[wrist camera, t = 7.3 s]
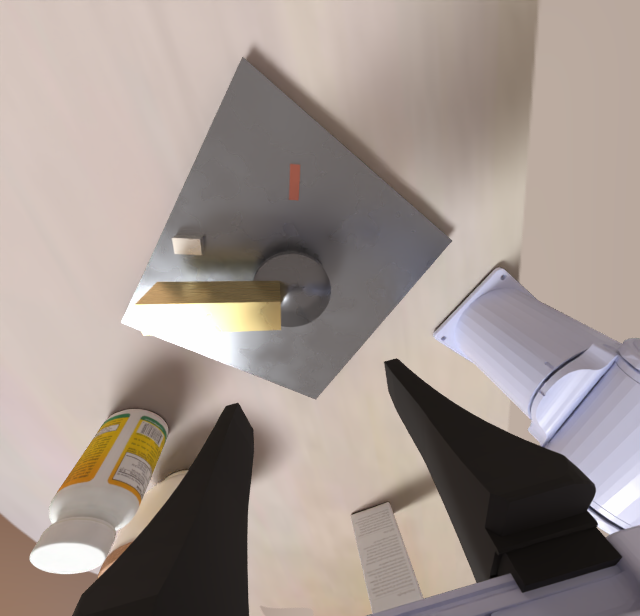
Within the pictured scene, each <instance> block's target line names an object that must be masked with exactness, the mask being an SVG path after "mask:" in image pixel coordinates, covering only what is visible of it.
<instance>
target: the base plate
mask: <svg viewBox="0 0 640 616" xmlns="http://www.w3.org/2000/svg"><path fill="white" fill-rule="evenodd" d="M451 242H452V240H451V239H450V238H449V237H448V236H446V235H445V234H444V233H443V232H442V231H441V230H440V229H438V228H437V227H436V226H435V225H434V224H433V223H432V222H430V221H429V220H428V219H427V218H426V217H425V216H424V215H422V214H421V213H420V212H419V211H418V210H417V209H416V208H414V207H413V206H412V205H411V204H410V203H409V202H408V201H406V200H405V199H404V198H403V197H402V196H401V195H400V194H398V193H397V192H396V191H395V190H394V189H393V188H392V187H390V186H389V185H388V184H387V183H386V182H385V181H384V180H382V179H381V178H380V177H379V176H378V175H377V174H376V173H375V172H373V171H372V170H371V169H370V168H369V167H368V166H367V165H365V164H364V163H363V162H362V161H361V160H360V159H359V158H357V157H356V156H355V155H354V154H353V153H352V152H351V151H349V150H348V149H347V148H346V147H345V146H344V145H343V144H341V143H340V142H339V141H338V140H337V139H336V138H335V137H333V136H332V135H331V134H330V133H329V132H328V131H327V130H325V129H324V128H323V127H322V126H321V125H320V124H319V123H317V122H316V121H315V120H314V119H313V118H312V117H311V116H309V115H308V114H307V113H306V112H305V111H304V110H303V109H301V108H300V107H299V106H298V105H297V104H296V103H295V102H294V101H292V100H291V99H290V98H289V97H288V96H287V95H286V94H284V93H283V92H282V91H281V90H280V89H279V88H278V87H276V86H275V85H274V84H273V83H272V82H271V81H270V80H268V79H267V78H266V77H265V76H264V75H263V74H262V73H260V72H259V71H258V70H257V69H256V68H255V67H254V66H252V65H251V64H250V63H249V62H248V61H247V60H246V59H244V58H243V57H242V59H241V61H240V64H239V66H238V68H237V70H236V72H235V74H234V77H233V79H232V81H231V83H230V85H229V88H228V90H227V92H226V94H225V96H224V99H223V101H222V103H221V105H220V107H219V110H218V112H217V114H216V116H215V118H214V120H213V123H212V125H211V127H210V129H209V131H208V134H207V136H206V138H205V140H204V142H203V145H202V147H201V149H200V151H199V153H198V155H197V158H196V160H195V162H194V164H193V166H192V169H191V171H190V173H189V175H188V177H187V180H186V182H185V184H184V186H183V188H182V190H181V193H180V195H179V197H178V199H177V201H176V204H175V206H174V208H173V210H172V212H171V215H170V217H169V219H168V221H167V223H166V226H165V228H164V230H163V232H162V234H161V236H160V239H159V241H158V243H157V245H156V247H155V250H154V252H153V254H152V256H151V258H150V261H149V263H148V265H147V267H146V269H145V271H144V274H143V276H142V278H141V280H140V282H139V285H138V287H137V289H136V291H135V293H134V296H133V298H132V300H131V302H130V304H129V306H128V309H127V311H126V313H125V315H124V317H123V320H122V322H121V323H123V324H126V325H128V326H131V327H133V328H136V329H138V330H141V331H142V329H141V325H140V322H139V319H138V315H137V312H136V309H135V306H134V304H135V303H136V302H137V301H138V300H139V299H140V298H141V297H142V296H143V295H144V294H145V293H146V292H147V291H148V290H149V289H150V288H151V287H152V286H153V285H154V284H155V283H156V282H187V281H253V278H254V275H255V273H256V271H257V269H258V268H259V266H260V265H261V264H262V263H263V262H264V261H265V260H266V259H268V258H269V257H271V256H273V255H275V254H277V253H280V252H285V251H297V252H302V253H305V254H308V255H310V256H312V257H313V258H315V259H316V260H317V261H318V262H319V263H320V264H321V265H322V266H323V268H324V269H325V271H326V273H327V275H328V278H329V280H330V284H331V296H330V300H329V303H328V305H327V307H326V309H325V310H324V312H323V313H322V314H321V315H320V316H319V317H318V318H316V319H315V320H314V321H312V322H310V323H308V324H305V325H302V326H298V327H283V326H281V330H269V331H241V332H214V333H186V334H159V335H154V336H156V337H159V338H161V339H164V340H166V341H169V342H171V343H174V344H176V345H179V346H182V347H184V348H187V349H189V350H192V351H194V352H197V353H199V354H202V355H204V356H207V357H209V358H212V359H214V360H217V361H220V362H222V363H225V364H227V365H230V366H232V367H235V368H237V369H240V370H242V371H245V372H247V373H250V374H253V375H255V376H258V377H260V378H263V379H265V380H268V381H270V382H273V383H275V384H278V385H280V386H283V387H285V388H288V389H291V390H293V391H296V392H298V393H301V394H303V395H306V396H308V397H311V398H313V399H317V397H318V396H319V395H320V394H321V393H322V392H323V390H324V389H325V388H326V387H327V386H328V385H329V383H330V382H331V381H332V380H333V379H334V378H335V376H336V375H337V374H338V373H339V372H340V371H341V369H342V368H343V367H344V366H345V365H346V364H347V362H348V361H349V360H350V359H351V358H352V357H353V355H354V354H355V353H356V352H357V351H358V350H359V349H360V347H361V346H362V345H363V344H364V343H365V342H366V340H367V339H368V338H369V337H370V336H371V335H372V333H373V332H374V331H375V330H376V329H377V328H378V326H379V325H380V324H381V323H382V322H383V321H384V319H385V318H386V317H387V316H388V315H389V314H390V312H391V311H392V310H393V309H394V308H395V307H396V305H397V304H398V303H399V302H400V301H401V300H402V299H403V297H404V296H405V295H406V294H407V293H408V292H409V290H410V289H411V288H412V287H413V286H414V285H415V283H416V282H417V281H418V280H419V279H420V278H421V276H422V275H423V274H424V273H425V272H426V271H427V269H428V268H429V267H430V266H431V265H432V264H433V262H434V261H435V260H436V259H437V258H438V257H439V255H440V254H441V253H442V252H443V251H444V250H445V249H446V247H447V246H448V245H449V244H450V243H451Z"/></svg>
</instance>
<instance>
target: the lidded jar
mask: <svg viewBox="0 0 640 616" xmlns="http://www.w3.org/2000/svg"><path fill="white" fill-rule="evenodd" d="M187 472H188V470H182V471H178V472H175V473H173V474H171V475H169V476H168V477H166V478H165V479H164V481H162V482H160V483H159V484H157V485H156V486H155V487H153V488H152V489H150V490H149V491H148V492H147V493H146V494H145V495H144V496H143V499H142V501H141V503H140V506H139V508H138V511H137V512H136V514H135V516H134V517H133V519H132V520H131V521H130V522H129V523H128V524H127V525H125V526H124V527H123V528H121V529H120V530H119V532H118V534H117V536H116V539H115V541H114V543H113V545H112V547H111V550H110V552H109V555H108V556H107V558H106V559H105V561H104V563H103V565H102V567H101V569H100V572H99V574H98V578H99V577H100V576H101V575H102V574H103V573H104V572H105V571H106V570H107V569H108V568H109V567H110V566H111V565H112V564H113V563H114V562H115V561H116V560H117V559H118V557H119V556H120V555H121V554H122V553H123V552H124V551H125V550H126V549H127V548H128V547H129V545H130V544H131V543H132V542H133V541H134V540H135V539H136V538H137V536H138V535H139V534H140V533H141V532H142V531H143V530H144V528H145V527H146V526H147V525H148V524H149V522H150V521H151V520H152V519H153V517H154V516H155V515H156V514H157V513H158V511H159V510H160V509H161V508H162V506H163V505H164V504H165V503H166V501H167V500H168V499H169V497H170V496H171V495H172V493H173V492H174V491H175V489H176V488H177V486H178V485H179V484H180V482H181V481H182V479H183V478H184V476H185V475H186V473H187ZM98 578H97V579H98Z"/></svg>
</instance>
